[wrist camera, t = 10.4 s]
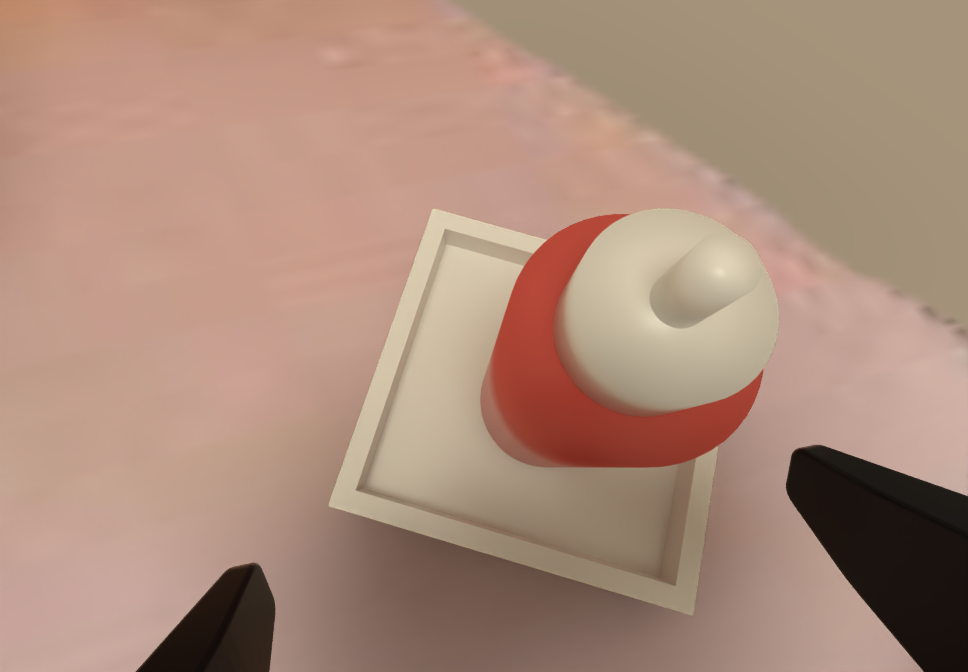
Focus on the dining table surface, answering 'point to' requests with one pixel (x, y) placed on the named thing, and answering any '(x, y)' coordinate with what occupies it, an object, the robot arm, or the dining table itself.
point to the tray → (483, 464)
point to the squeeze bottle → (630, 343)
